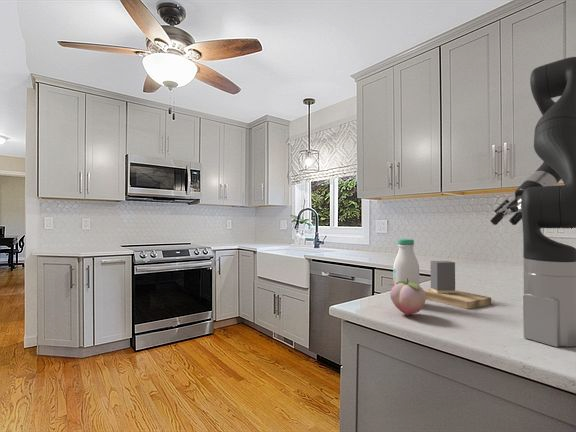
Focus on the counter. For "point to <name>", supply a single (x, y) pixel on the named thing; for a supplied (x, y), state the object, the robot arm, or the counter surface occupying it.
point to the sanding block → (443, 276)
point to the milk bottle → (406, 263)
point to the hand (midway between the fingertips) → (501, 223)
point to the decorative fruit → (408, 297)
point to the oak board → (459, 299)
